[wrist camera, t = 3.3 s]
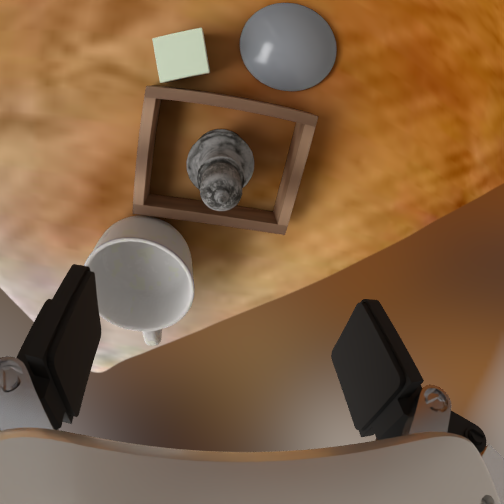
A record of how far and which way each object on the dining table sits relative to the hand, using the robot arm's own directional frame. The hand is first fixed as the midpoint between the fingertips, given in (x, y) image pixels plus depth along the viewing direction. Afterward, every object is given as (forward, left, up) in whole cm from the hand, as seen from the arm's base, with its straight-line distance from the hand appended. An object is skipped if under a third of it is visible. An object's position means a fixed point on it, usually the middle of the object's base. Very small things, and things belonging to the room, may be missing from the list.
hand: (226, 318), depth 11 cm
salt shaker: (0, 0, -22) cm, 22 cm away
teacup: (+13, -6, -22) cm, 27 cm away
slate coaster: (-12, +4, -22) cm, 26 cm away
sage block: (-9, -5, -22) cm, 25 cm away
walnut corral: (0, 0, -22) cm, 22 cm away
